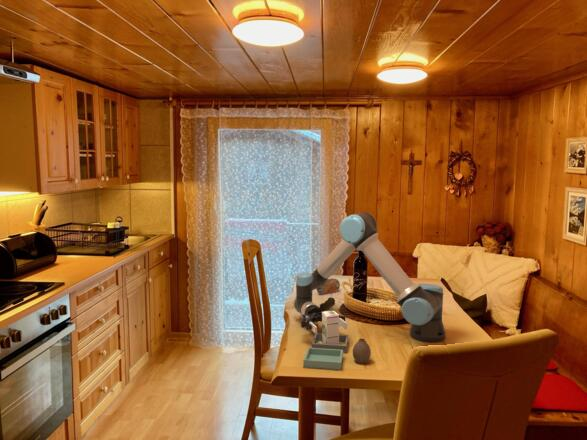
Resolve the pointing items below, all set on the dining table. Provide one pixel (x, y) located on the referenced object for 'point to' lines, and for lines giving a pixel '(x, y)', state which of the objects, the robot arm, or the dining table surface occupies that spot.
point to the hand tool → (327, 304)
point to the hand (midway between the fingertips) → (331, 328)
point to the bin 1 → (330, 346)
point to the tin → (329, 287)
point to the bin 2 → (323, 359)
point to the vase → (361, 351)
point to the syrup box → (330, 327)
